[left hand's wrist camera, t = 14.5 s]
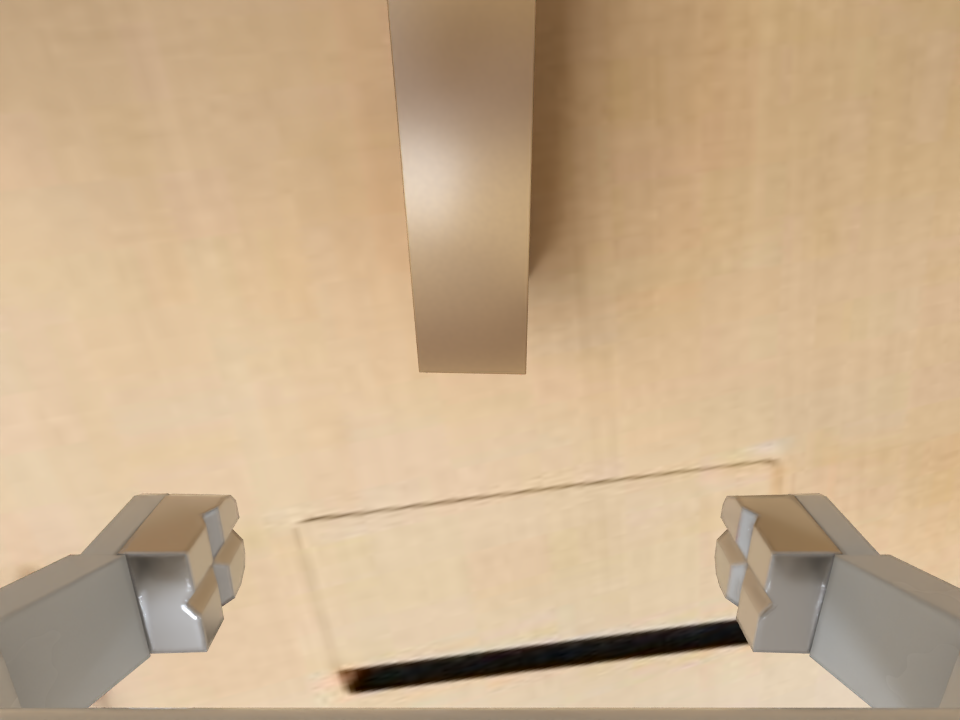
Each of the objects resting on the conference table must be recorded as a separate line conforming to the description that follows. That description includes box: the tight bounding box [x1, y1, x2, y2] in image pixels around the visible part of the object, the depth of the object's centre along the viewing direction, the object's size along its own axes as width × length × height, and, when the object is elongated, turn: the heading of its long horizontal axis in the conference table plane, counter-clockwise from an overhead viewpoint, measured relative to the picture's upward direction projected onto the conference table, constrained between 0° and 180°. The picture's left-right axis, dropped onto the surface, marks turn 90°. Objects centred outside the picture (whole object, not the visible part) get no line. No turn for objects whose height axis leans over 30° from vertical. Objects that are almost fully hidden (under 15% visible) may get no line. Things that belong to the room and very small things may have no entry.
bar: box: [387, 0, 536, 374], centre depth 25 cm, size 25×5×9 cm, turn 0°
